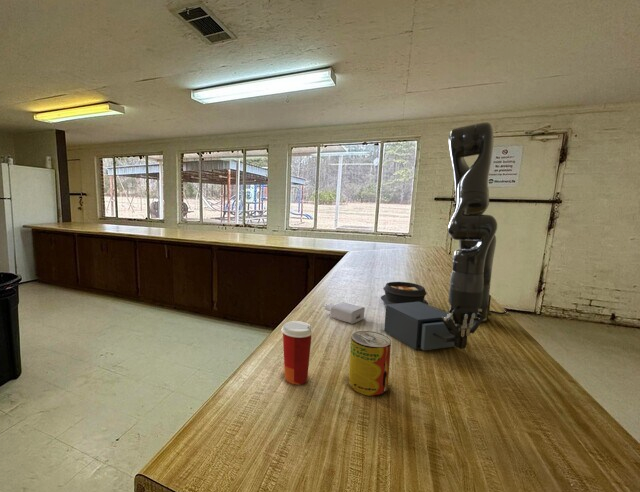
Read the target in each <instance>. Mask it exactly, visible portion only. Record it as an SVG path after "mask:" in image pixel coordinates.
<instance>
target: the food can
mask: <svg viewBox="0 0 640 492" xmlns="http://www.w3.org/2000/svg"><path fill="white" fill-rule="evenodd" d="M349 348H350V350H349V362H348V363H349V365H348V385H349V387H350V388H351V389H352V390H354V391H355V392H357V393H359V394H362V395H365V396H369V397H380V396H384V395H386V394H387V393H388V390H389V377H390V361H391V349H392V340H391V338H389V337H388V336H386V335H385V334H382V333H379V332H376V331H370V330H358V331H354V332H352V333H351V335H350V346H349Z"/></svg>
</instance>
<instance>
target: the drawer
mask: <svg viewBox="0 0 640 492" xmlns="http://www.w3.org/2000/svg"><path fill="white" fill-rule="evenodd" d="M431 322H436V323H431ZM423 323H428V324H423ZM454 339H455V334H453V333H451V332H449V331H448V329H447V327H446V326H445V324H444V323H443V321H442V320H434V321H425V322H420V330H419V342H418V345H419V346H420V345H421V349H420V350H422V351H429V350H437V349H439V350H440V349H446V348H453V347H455V345H454Z"/></svg>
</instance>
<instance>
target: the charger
mask: <svg viewBox="0 0 640 492" xmlns="http://www.w3.org/2000/svg"><path fill="white" fill-rule="evenodd" d="M322 307H324V310H326V311H328V312H329V315H330V317H331V318H333V319H336V320H339V321H342V322H346V323H349V324H352V325H353V324H355V323H357V322H360V321H362V320H363V319H365V312H366V311H365V310H366V309H365V307H363V306H360V305H356V304H352V303H350V302H349V303H348V302H345V301H341V302H338V303H336V304H333V303H328V304H324V305H322Z"/></svg>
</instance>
